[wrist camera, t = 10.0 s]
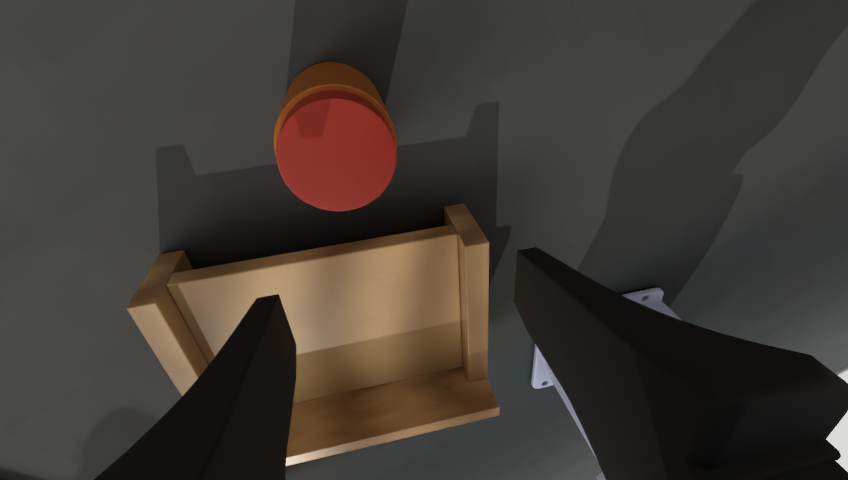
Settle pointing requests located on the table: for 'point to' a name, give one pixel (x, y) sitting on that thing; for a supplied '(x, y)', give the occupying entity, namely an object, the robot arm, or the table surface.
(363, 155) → the spice bottle
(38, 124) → the table surface
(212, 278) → the shelf
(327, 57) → the table surface
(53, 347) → the table surface
